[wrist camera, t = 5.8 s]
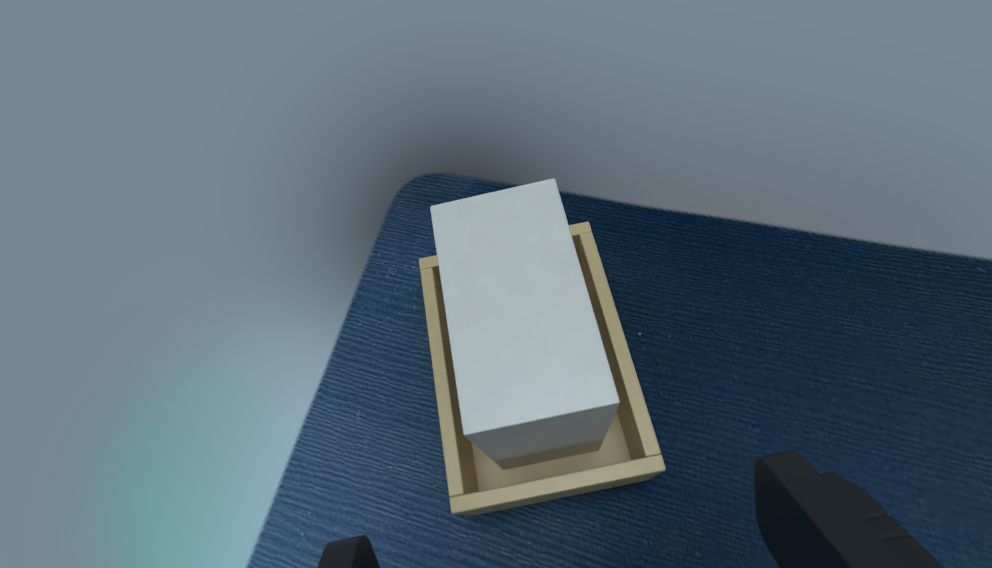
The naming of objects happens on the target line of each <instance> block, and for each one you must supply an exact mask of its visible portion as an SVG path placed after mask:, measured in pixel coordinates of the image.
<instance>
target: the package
mask: <svg viewBox="0 0 992 568" xmlns="http://www.w3.org/2000/svg"><path fill="white" fill-rule="evenodd" d="M430 211H431V217H432V224H433V231H434V238H435V245H436V251H437V258H438V265H439V272H440V279H441V285H442V292H443V299H444V306H445V313H446V320H447V326H448V333H449V340H450V347H451V354H452V360H453V367H454V374H455V381H456V388H457V394H458V401H459V408H460V415H461V422H462V429H463V434H464V436H465V437H467V438H468V439H469V440H470V441H471V442H472V443H473V444H475V445H476V446H477V447H478V448H479V449H480V450H481V451H483V452H484V453H485V454H486V455H487V456H488V457H489V458H491V459H492V460H493V461H494V462H495V463H496V464H497V465H499V466H500V467H501V468H502V469H503V470H507V469H511V468H516V467H521V466H526V465H531V464H536V463H541V462H545V461H550V460H555V459H560V458H565V457H570V456H575V455H579V454H584V453H589V452H594V451H599V450H600V447H601V445H602V443H603V440H604V438H605V436H606V433H607V431H608V429H609V426H610V424H611V422H612V419H613V417H614V415H615V412H616V410H617V408H618V405H619V403H620V400H619V397H618V393H617V390H616V387H615V383H614V380H613V376H612V373H611V369H610V366H609V362H608V359H607V356H606V352H605V349H604V345H603V342H602V338H601V335H600V332H599V328H598V325H597V321H596V318H595V314H594V311H593V307H592V304H591V301H590V297H589V294H588V290H587V287H586V283H585V280H584V277H583V273H582V270H581V266H580V263H579V259H578V256H577V253H576V249H575V246H574V242H573V239H572V235H571V232H570V228H569V225H568V222H567V218H566V215H565V211H564V208H563V204H562V201H561V198H560V194H559V191H558V187H557V184H556V180H555V179H554V178H553V179H549V180H545V181H540V182H536V183H531V184H527V185H522V186H518V187H513V188H509V189H505V190H500V191H496V192H491V193H487V194H482V195H478V196H474V197H469V198H465V199H460V200H456V201H451V202H447V203H443V204H438V205H434V206H431V207H430Z"/></svg>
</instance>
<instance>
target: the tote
mask: <svg viewBox="0 0 992 568" xmlns="http://www.w3.org/2000/svg"><path fill="white" fill-rule="evenodd" d="M569 228H570V232H571V235H572V239H573V242H574V246H575V249H576V253H577V256H578V259H579V263H580V266H581V270H582V273H583V277H584V280H585V283H586V287H587V290H588V294H589V297H590V301H591V304H592V307H593V311H594V314H595V318H596V321H597V325H598V328H599V332H600V335H601V338H602V342H603V345H604V349H605V352H606V356H607V359H608V362H609V366H610V369H611V373H612V376H613V380H614V383H615V387H616V390H617V393H618V397H619V400H620V403H619V405H618V408H617V410H616V412H615V415H614V417H613V419H612V422H611V424H610V426H609V429H608V431H607V433H606V436H605V438H604V440H603V443H602V445H601V447H600V450H599V451H594V452H589V453H584V454H579V455H575V456H570V457H565V458H560V459H555V460H550V461H545V462H541V463H536V464H531V465H526V466H521V467H516V468H511V469H507V470H503V469H502V468H501V467H500V466H499V465H497V464H496V463H495V462H494V461H493V460H492V459H491V458H489V457H488V456H487V455H486V454H485V453H484V452H483V451H481V450H480V449H479V448H478V447H477V446H476V445H475V444H473V443H472V442H471V441H470V440H469V439H468V438H467V437H465V436H464V434H463V429H462V422H461V415H460V408H459V401H458V394H457V388H456V381H455V374H454V367H453V360H452V354H451V347H450V340H449V333H448V326H447V320H446V313H445V306H444V299H443V292H442V285H441V279H440V272H439V265H438V258H437V255H435V256H430V257H426V258H421V259H419V265H420V270H421V271H420V273H421V280H422V288H423V296H424V304H425V312H426V320H427V328H428V335H429V343H430V351H431V359H432V367H433V375H434V382H435V390H436V398H437V406H438V414H439V422H440V429H441V437H442V445H443V453H444V461H445V469H446V477H447V484H448V492H449V496H450V499H449V500H450V508H451V513H452V514H459V515H469V516H475V515H480V514H484V513H489V512H494V511H499V510H504V509H509V508H514V507H519V506H524V505H529V504H534V503H539V502H543V501H548V500H553V499H558V498H563V497H568V496H573V495H578V494H583V493H588V492H593V491H598V490H602V489H607V488H612V487H617V486H622V485H627V484H632V483H637V482H642V481H647V480H649V479H651V478H653V477H655V476H656V475H658V474H660V473H662V472H663V471H665V470H666V467H665V464H664V461H663V458H662V455H660V454H661V451H660V448H659V445H658V441H657V438H656V435H655V432H654V429H653V425H652V422H651V419H650V416H649V413H648V409H647V406H646V403H645V400H644V397H643V393H642V390H641V387H640V384H639V381H638V378H637V374H636V371H635V368H634V365H633V362H632V358H631V355H630V352H629V349H628V346H627V342H626V339H625V336H624V333H623V330H622V326H621V323H620V320H619V317H618V314H617V311H616V307H615V304H614V301H613V298H612V295H611V291H610V288H609V285H608V282H607V279H606V275H605V272H604V269H603V266H602V263H601V259H600V256H599V253H598V250H597V247H596V244H595V240H594V237H593V234H592V231H591V228H590V224H589V222H583V223H579V224H574V225H570V226H569Z"/></svg>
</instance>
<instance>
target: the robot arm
mask: <svg viewBox="0 0 992 568" xmlns="http://www.w3.org/2000/svg"><path fill="white" fill-rule="evenodd" d="M753 472H754V488H755V504H756V518H757V523H758V527H759V530H760V533H761V535H762V538H763V540H764V542H765V544H766V546H767V548H768V550H769V551H770V553H771V554H772V556H773V557H774V559H775V560H776V562H777V564H778V565H779V567H780V568H944V567H943V566H942V565H941V564H940V563H939V562H938V561H937V560H936V559H935V558H934V557H933V556H932V555H931V554H930V553H929V552H928V551H927V550H926V549H925V548H923V547H922V546H921V545H920V544H919V543H918V542H917V541H916V540H915V539H914V538H913V537H912V536H911V535H910V536H909V535H908V534H907V533H906V530H905V529H904V528H903V527H902V526H901V525H900V524H899V523H898V522H897V521H896V520H895V519H894V518H893V517H892V516H888V515H887V513H886V510H884V509H883V508H882V507H881V506H880V505H879V504H878V503H877V502H876V501H875V500H874V499H873V498H872V497H871V496H870V495H869V494H868V493H867V492H866V491H865V490H864V489H863V488H861V487H859V486H857V485H856V484H854V483H852V482H850V481H848V480H847V479H845V478H843V477H841V476H839V475H838V474H836V473H834V472H830V473H825V474H819V473H818V472H817V471H816V470H815V469H814V468H813V467H812V466H811V465H810V464H809V463H808V462H807V461H806V460H805V459H804V458H803V456H801V455H800V454H799V453H798V452H796V451H787V452H782V453H777V454H772V455H767V456H762V457H757V458H755V459H754V462H753ZM318 568H380V566H379V563H378V561H377V558H376V555H375V553H374V550H373V548H372V545H371V542H370V540H369V539H368V537H367V536H365V535H362V536H357V537H352V538H347V539H342V540H337V541H332V542H329V543H328V544H327V545H326V547H325V549H324V551H323V554H322V557H321V560H320V562H319V565H318Z"/></svg>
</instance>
